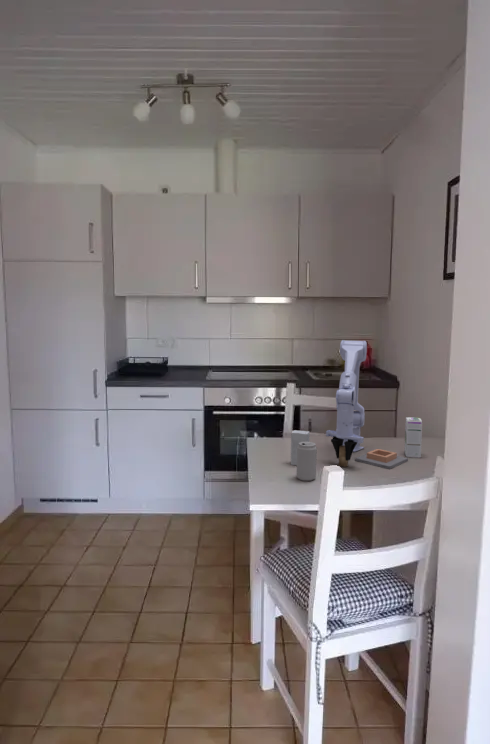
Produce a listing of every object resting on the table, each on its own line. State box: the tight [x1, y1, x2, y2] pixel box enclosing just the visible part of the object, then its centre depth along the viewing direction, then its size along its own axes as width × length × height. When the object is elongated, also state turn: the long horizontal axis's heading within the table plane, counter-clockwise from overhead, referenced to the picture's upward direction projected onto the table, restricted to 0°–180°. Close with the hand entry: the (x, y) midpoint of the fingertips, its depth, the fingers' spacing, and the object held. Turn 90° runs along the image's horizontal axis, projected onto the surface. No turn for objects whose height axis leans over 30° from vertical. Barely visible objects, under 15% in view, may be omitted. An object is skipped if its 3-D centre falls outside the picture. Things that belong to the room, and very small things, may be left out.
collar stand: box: [354, 448, 409, 470], centre depth 191 cm, size 14×14×3 cm
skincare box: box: [290, 429, 311, 466], centre depth 185 cm, size 6×4×12 cm
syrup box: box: [403, 416, 423, 459], centre depth 197 cm, size 6×6×14 cm
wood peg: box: [338, 445, 349, 468], centre depth 184 cm, size 3×3×7 cm
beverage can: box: [296, 441, 318, 482], centre depth 169 cm, size 6×6×12 cm
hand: (343, 458), depth 184 cm, fingers closed on wood peg, 3 cm apart
